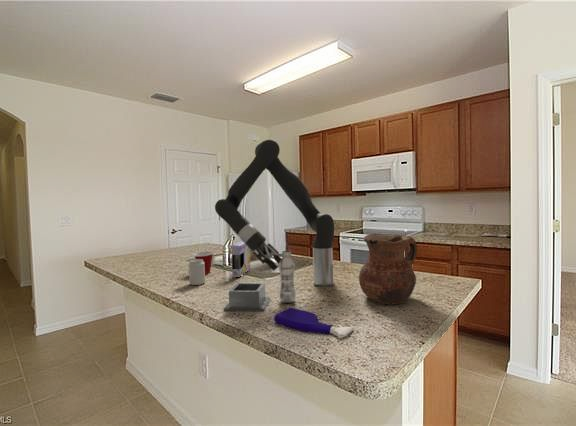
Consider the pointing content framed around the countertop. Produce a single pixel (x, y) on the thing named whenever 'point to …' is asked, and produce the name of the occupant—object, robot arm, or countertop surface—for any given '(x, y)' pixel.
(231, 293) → the rack socket
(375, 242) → the jug
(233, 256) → the cake pan box
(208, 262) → the plastic cup
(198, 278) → the can
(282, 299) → the plastic bottle
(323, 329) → the spray bottle
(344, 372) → the countertop surface
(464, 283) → the countertop surface
